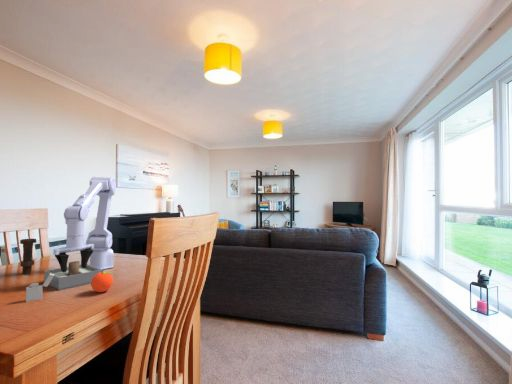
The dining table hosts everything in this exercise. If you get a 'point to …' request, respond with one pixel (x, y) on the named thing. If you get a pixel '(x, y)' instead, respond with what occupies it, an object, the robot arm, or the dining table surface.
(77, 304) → the dining table surface
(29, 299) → the lighter
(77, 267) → the peg
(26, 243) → the bolt
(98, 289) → the clementine
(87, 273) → the bore box
